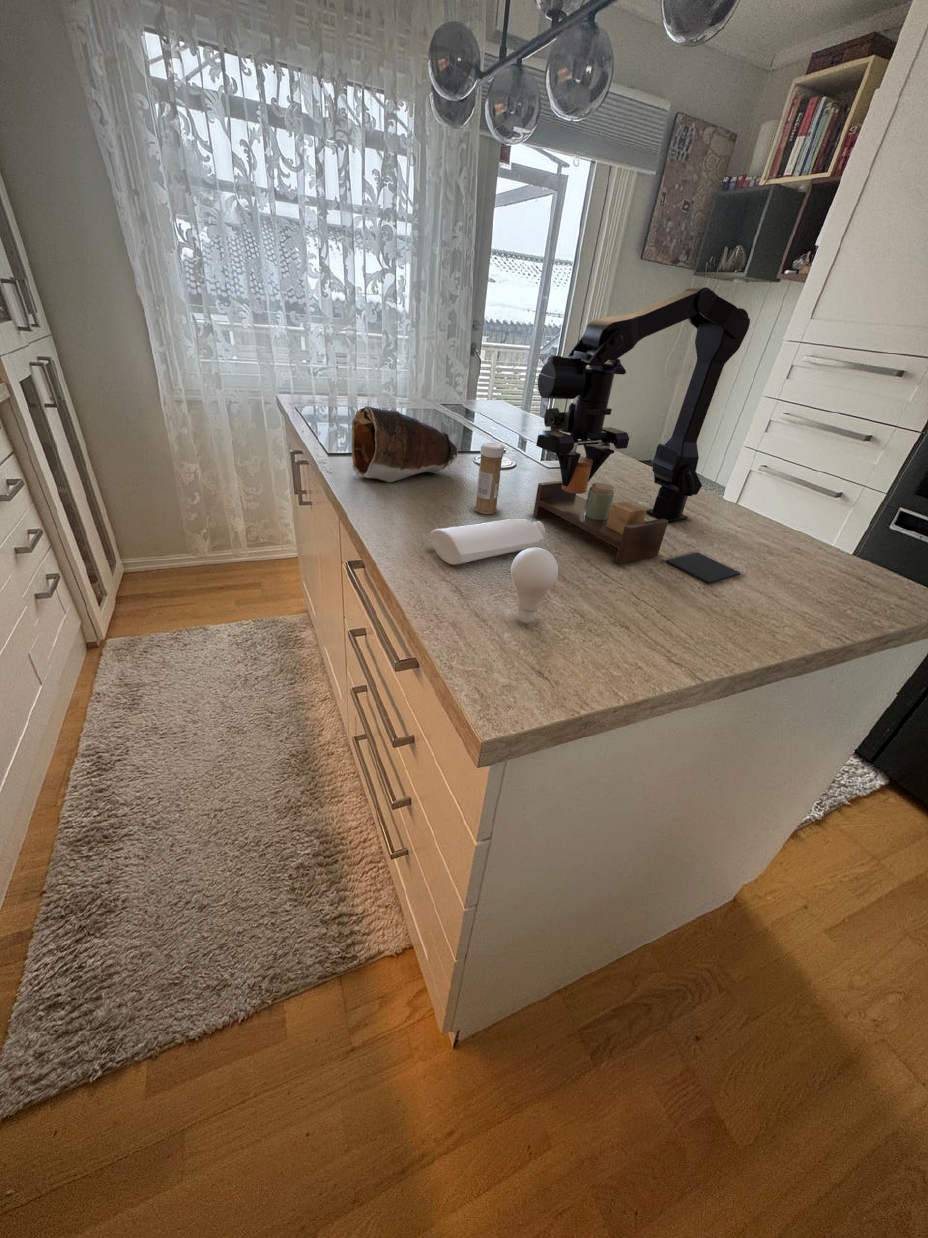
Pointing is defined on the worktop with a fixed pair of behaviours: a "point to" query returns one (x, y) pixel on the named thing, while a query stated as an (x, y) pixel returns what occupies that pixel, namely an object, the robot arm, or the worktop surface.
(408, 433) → the clay pot
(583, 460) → the copper tin
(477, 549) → the squeeze bottle
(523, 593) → the lightbulb
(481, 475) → the sprinkles bottle
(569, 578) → the worktop surface
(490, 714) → the worktop surface
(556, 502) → the walnut shelf
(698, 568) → the black rubber mat
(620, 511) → the oak block
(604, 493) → the sage jar
